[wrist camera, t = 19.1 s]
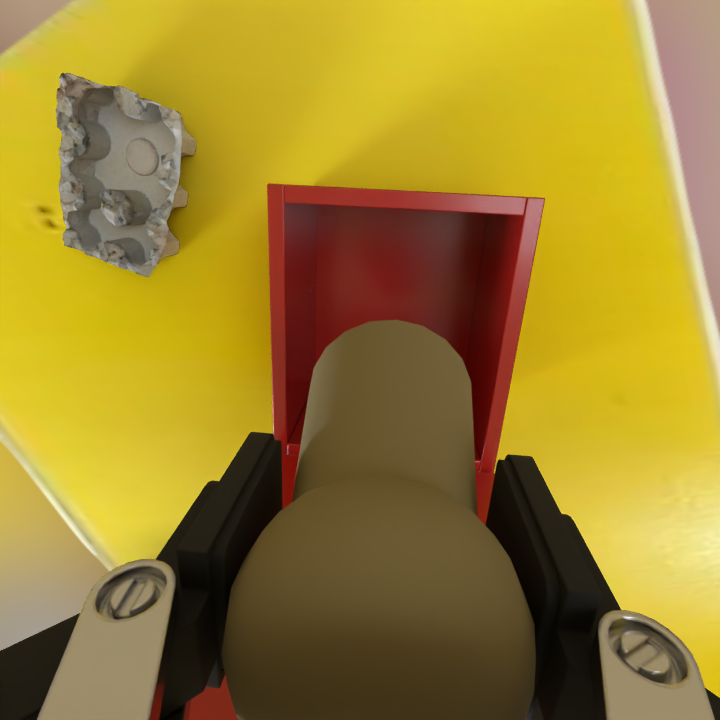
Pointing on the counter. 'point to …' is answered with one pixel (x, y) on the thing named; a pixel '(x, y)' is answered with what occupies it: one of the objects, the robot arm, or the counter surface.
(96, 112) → the egg carton
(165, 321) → the counter surface
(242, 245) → the counter surface
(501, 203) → the cabinet
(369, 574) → the cork
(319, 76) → the counter surface
